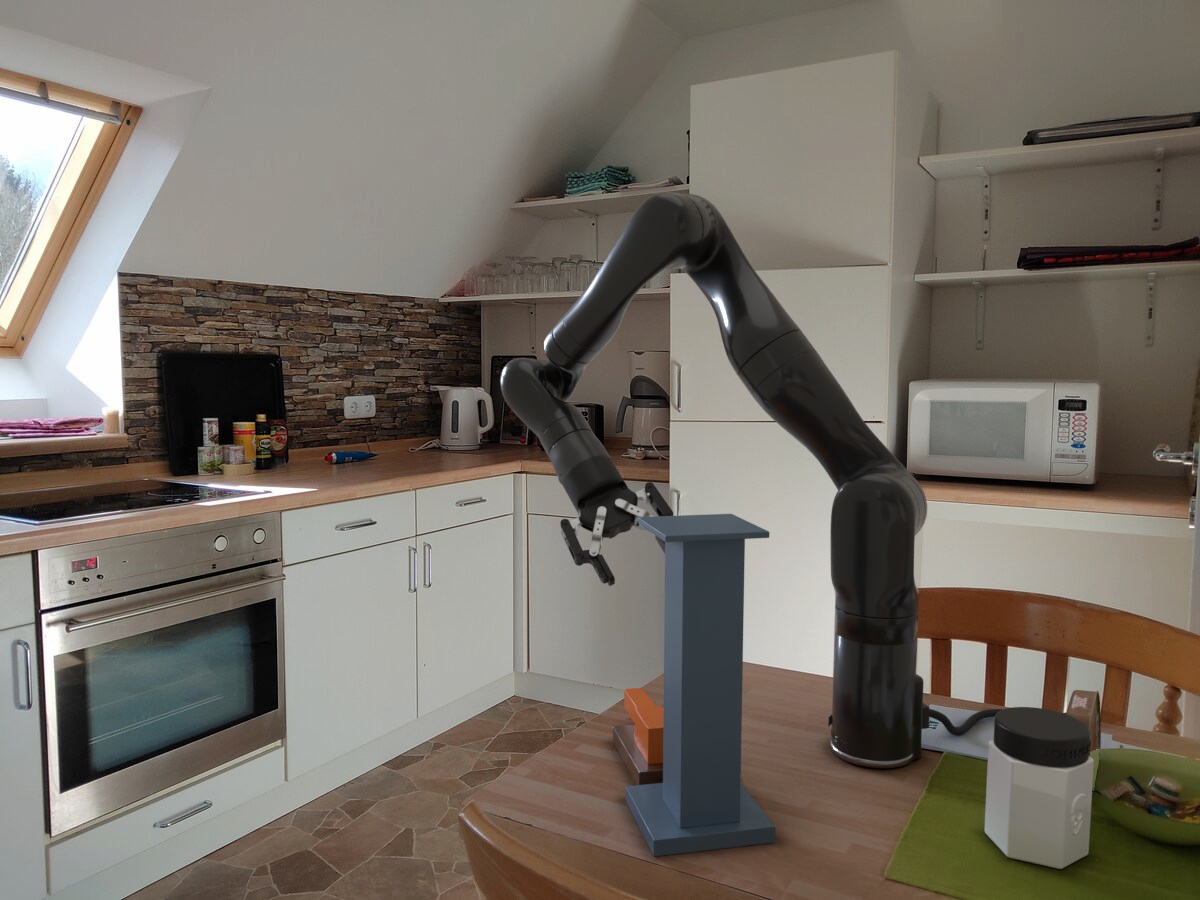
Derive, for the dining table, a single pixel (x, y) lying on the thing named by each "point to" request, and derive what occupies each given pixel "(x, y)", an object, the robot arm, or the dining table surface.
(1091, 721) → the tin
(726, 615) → the stand
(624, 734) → the pad
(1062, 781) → the jar
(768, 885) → the dining table surface
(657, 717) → the orange toy mallet
